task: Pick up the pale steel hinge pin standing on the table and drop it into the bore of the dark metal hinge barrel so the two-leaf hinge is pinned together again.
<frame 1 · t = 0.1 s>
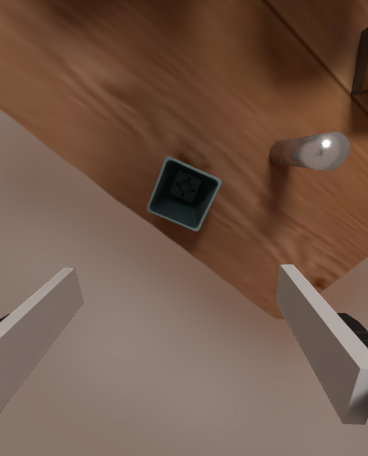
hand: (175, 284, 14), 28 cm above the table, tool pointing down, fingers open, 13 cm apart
hinge pin: (281, 152, 36), on the table
flower pot: (185, 186, 39), on the table
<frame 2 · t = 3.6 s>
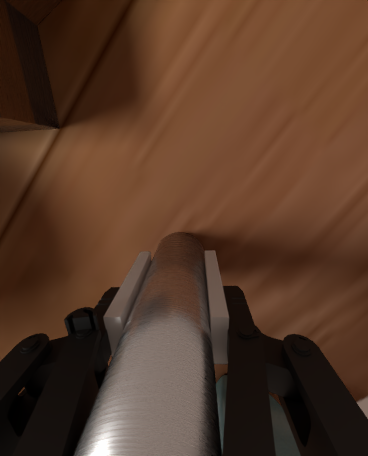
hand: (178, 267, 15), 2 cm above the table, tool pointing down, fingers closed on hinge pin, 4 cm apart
hinge pin: (180, 254, 17), on the table, touching gripper
flower pot: (233, 392, 23), on the table
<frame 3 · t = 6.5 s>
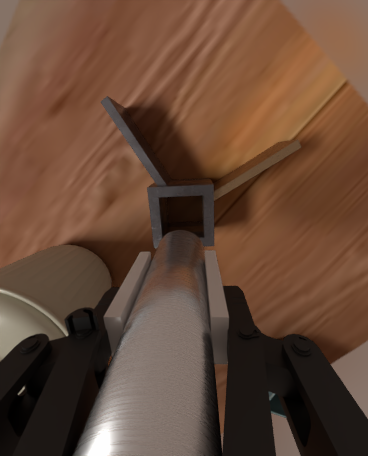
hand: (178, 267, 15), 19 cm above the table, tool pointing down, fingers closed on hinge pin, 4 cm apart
canister: (79, 273, 38), on the table
hinge pin: (180, 251, 18), point 16 cm above the table, touching gripper
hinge: (184, 205, 33), on the table
when the fingers open (11 cm above the table, at t = 9.7 s): hinge pin drops 7 cm, resting in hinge.
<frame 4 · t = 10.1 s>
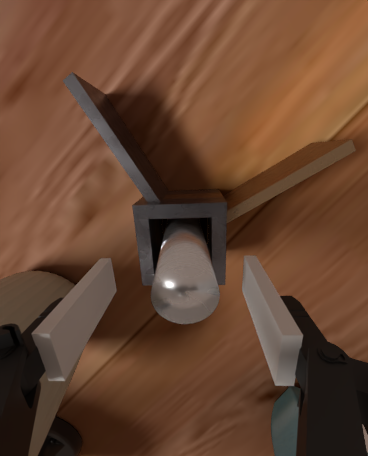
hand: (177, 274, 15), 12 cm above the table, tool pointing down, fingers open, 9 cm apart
canister: (53, 303, 31), on the table
hinge pin: (183, 223, 25), resting in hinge
flower pot: (294, 396, 35), on the table
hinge: (184, 223, 25), on the table
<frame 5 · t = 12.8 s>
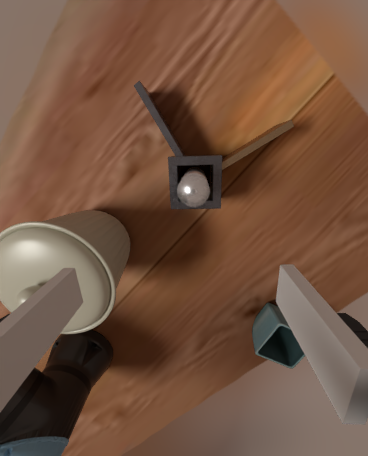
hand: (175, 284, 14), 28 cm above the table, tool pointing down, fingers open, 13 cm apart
canister: (102, 237, 45), on the table
hinge pin: (194, 178, 39), resting in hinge
flower pot: (270, 312, 48), on the table
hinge: (195, 178, 39), on the table
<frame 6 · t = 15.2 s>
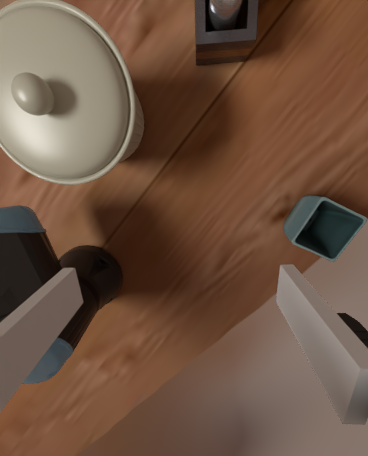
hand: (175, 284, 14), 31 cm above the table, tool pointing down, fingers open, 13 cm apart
canister: (111, 123, 39), on the table
hinge pin: (219, 33, 34), resting in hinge
flower pot: (302, 215, 43), on the table
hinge: (220, 33, 33), on the table
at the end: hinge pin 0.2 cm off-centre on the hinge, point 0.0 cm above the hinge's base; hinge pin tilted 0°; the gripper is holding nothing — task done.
